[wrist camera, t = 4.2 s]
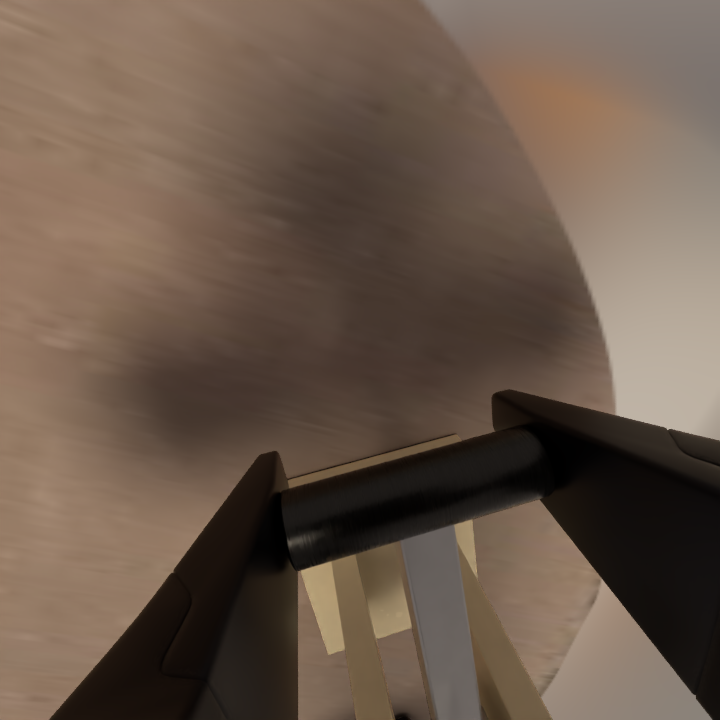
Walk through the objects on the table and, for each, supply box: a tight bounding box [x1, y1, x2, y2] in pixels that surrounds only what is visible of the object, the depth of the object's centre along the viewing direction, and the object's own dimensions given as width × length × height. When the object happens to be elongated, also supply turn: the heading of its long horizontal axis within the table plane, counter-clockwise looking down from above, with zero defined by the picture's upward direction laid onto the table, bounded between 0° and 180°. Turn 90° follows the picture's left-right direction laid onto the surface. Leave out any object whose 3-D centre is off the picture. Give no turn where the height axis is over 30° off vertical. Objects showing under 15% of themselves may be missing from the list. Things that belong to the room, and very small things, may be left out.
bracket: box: [288, 434, 552, 720], centre depth 14 cm, size 10×8×11 cm
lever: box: [279, 425, 556, 720], centre depth 9 cm, size 12×5×2 cm, turn 10°
